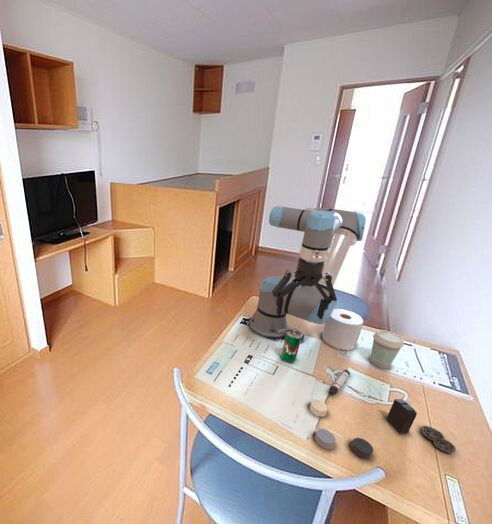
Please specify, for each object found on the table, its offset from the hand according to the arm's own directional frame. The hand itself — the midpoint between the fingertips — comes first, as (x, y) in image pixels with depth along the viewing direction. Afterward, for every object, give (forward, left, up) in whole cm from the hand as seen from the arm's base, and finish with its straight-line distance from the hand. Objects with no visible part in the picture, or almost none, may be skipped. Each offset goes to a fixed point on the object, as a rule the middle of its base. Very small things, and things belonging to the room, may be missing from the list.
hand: (298, 315), depth 107 cm
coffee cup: (+21, +24, -19) cm, 37 cm away
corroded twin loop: (+42, 0, -19) cm, 46 cm away
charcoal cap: (+31, -20, -19) cm, 41 cm away
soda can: (0, -1, -19) cm, 19 cm away
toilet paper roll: (+6, +26, -19) cm, 33 cm away
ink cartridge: (+34, -3, -19) cm, 39 cm away
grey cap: (+24, -25, -19) cm, 39 cm away
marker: (+17, 0, -19) cm, 25 cm away
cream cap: (+18, -16, -19) cm, 30 cm away
